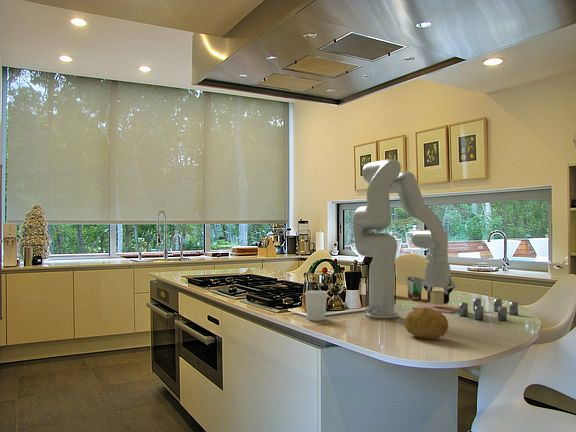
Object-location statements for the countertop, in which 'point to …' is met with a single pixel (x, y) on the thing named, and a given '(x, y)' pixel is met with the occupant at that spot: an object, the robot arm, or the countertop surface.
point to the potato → (426, 323)
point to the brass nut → (437, 297)
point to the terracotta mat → (439, 307)
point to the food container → (414, 288)
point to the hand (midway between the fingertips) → (438, 302)
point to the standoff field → (497, 308)
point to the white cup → (316, 305)
